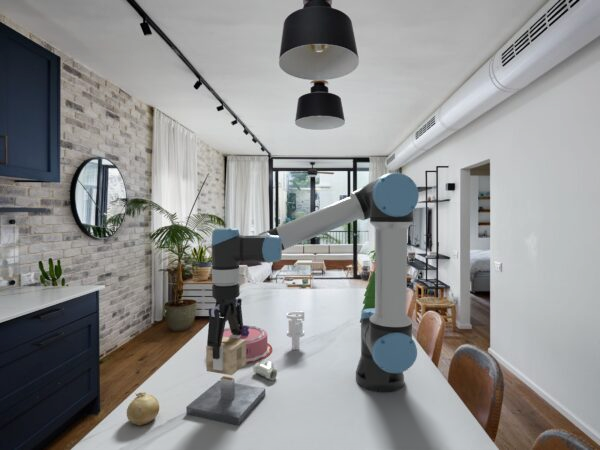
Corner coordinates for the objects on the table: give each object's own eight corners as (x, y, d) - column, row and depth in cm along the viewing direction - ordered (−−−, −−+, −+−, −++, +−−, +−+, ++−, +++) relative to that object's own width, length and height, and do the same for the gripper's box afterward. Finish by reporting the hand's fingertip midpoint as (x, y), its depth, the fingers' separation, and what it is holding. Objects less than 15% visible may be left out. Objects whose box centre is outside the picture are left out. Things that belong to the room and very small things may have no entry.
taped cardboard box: (206, 371, 98) (206, 345, 98) (222, 359, 106) (221, 335, 105) (231, 375, 96) (231, 349, 95) (246, 363, 103) (245, 338, 103)
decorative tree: (387, 340, 150) (387, 269, 148) (371, 345, 144) (371, 272, 143) (370, 334, 158) (370, 266, 156) (354, 338, 152) (354, 269, 151)
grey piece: (265, 394, 106) (265, 369, 106) (238, 425, 91) (238, 395, 91) (218, 386, 111) (218, 362, 111) (186, 414, 96) (185, 386, 96)
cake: (196, 363, 130) (195, 334, 129) (223, 338, 154) (222, 314, 154) (262, 367, 125) (261, 337, 125) (279, 342, 150) (278, 317, 149)
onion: (164, 411, 98) (163, 386, 97) (153, 429, 90) (152, 401, 89) (134, 412, 97) (133, 387, 97) (121, 430, 89) (120, 402, 89)
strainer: (302, 352, 138) (302, 314, 137) (285, 351, 139) (284, 313, 139) (306, 345, 145) (305, 309, 144) (289, 344, 146) (288, 308, 146)
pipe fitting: (267, 369, 124) (253, 374, 119) (268, 358, 124) (253, 363, 119) (283, 376, 119) (269, 382, 114) (284, 365, 119) (269, 370, 114)
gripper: (233, 276, 111) (233, 348, 112) (191, 289, 91) (192, 377, 92) (254, 277, 108) (255, 351, 109) (216, 291, 89) (217, 381, 89)
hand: (226, 362), depth 101 cm, fingers closed on taped cardboard box, 8 cm apart
